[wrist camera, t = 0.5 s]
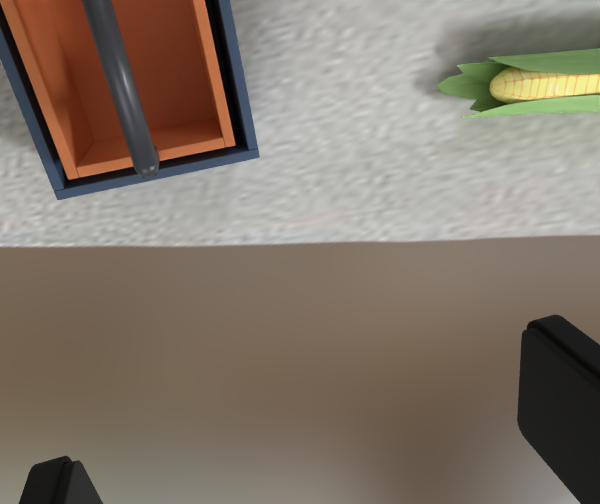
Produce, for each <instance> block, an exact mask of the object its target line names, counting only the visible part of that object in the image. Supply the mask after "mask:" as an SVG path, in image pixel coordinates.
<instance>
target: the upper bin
mask: <svg viewBox="0 0 600 504" xmlns="http://www.w3.org/2000/svg"><path fill="white" fill-rule="evenodd" d="M0 3H1V6H2V8H3V11H4V14H5V16H6V19H7V21H8V24H9V27H10V29H11V32H12V34H13V37H14V40H15V42H16V45H17V47H18V50H19V53H20V55H21V58H22V60H23V63H24V66H25V68H26V71H27V73H28V76H29V79H30V81H31V84H32V86H33V89H34V92H35V94H36V97H37V99H38V102H39V105H40V107H41V110H42V113H43V115H44V118H45V120H46V123H47V126H48V128H49V131H50V133H51V136H52V139H53V141H54V144H55V146H56V149H57V152H58V154H59V157H60V159H61V162H62V165H63V167H64V170H65V172H66V175H67V178H68V179H69V180H70V179H75V178H79V177H85V176H89V175H94V174H99V173H104V172H109V171H114V170H118V169H123V168H128V167H133V166H134V169H135V171H136V172H137V173H138V174H139V175H141V177H142V179H146V178H151V177H156V176H158V170H159V162H160V161H162V160H167V159H172V158H176V157H181V156H186V155H191V154H196V153H201V152H206V151H210V150H215V149H220V148H224V147H230V146H235V140H234V135H233V131H232V126H231V121H230V117H229V112H228V107H227V103H226V98H225V93H224V89H223V84H222V79H221V75H220V70H219V65H218V61H217V56H216V51H215V46H214V42H213V37H212V32H211V28H210V23H209V18H208V14H207V9H206V4H205V0H0Z"/></svg>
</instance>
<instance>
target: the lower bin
mask: <svg viewBox="0 0 600 504" xmlns="http://www.w3.org/2000/svg"><path fill="white" fill-rule="evenodd" d="M205 4H206V9H207V14H208V18H209V23H210V28H211V32H212V37H213V42H214V46H215V51H216V56H217V61H218V65H219V70H220V75H221V79H222V84H223V89H224V93H225V98H226V103H227V107H228V112H229V117H230V121H231V126H232V131H233V135H234V140H235V146H230V147H224V148H220V149H215V150H210V151H206V152H201V153H196V154H191V155H186V156H181V157H176V158H172V159H167V160H162V161H160V162H159V170H158V176H156V177H151V178H146V179H142V177H141V175H139V174H138V173H137V172H136V171H135V169H134V166H133V167H128V168H123V169H118V170H114V171H109V172H104V173H99V174H94V175H89V176H85V177H79V178H75V179H70V180H69V179H68V178H67V175H66V172H65V170H64V167H63V165H62V162H61V159H60V157H59V154H58V152H57V149H56V146H55V144H54V141H53V139H52V136H51V133H50V131H49V128H48V126H47V123H46V120H45V118H44V115H43V113H42V110H41V107H40V105H39V102H38V99H37V97H36V94H35V92H34V89H33V86H32V84H31V81H30V79H29V76H28V73H27V71H26V68H25V66H24V63H23V60H22V58H21V55H20V53H19V50H18V47H17V45H16V42H15V40H14V37H13V34H12V32H11V29H10V27H9V24H8V21H7V19H6V16H5V14H4V11H3V8H2V6H1V3H0V59H1V61H2V64H3V66H4V69H5V71H6V74H7V76H8V79H9V81H10V84H11V86H12V88H13V91H14V93H15V96H16V98H17V101H18V103H19V106H20V108H21V111H22V113H23V116H24V118H25V121H26V123H27V126H28V128H29V131H30V133H31V136H32V138H33V141H34V143H35V146H36V148H37V151H38V153H39V156H40V158H41V160H42V163H43V165H44V168H45V170H46V173H47V175H48V178H49V180H50V183H51V185H52V188H53V190H54V193H55V195H56V198H57V200H61V199H66V198H71V197H76V196H80V195H85V194H90V193H94V192H99V191H104V190H109V189H113V188H118V187H123V186H128V185H132V184H137V183H142V182H146V181H151V180H156V179H161V178H165V177H170V176H175V175H180V174H184V173H189V172H194V171H198V170H203V169H208V168H213V167H217V166H222V165H227V164H231V163H236V162H241V161H246V160H250V159H255V158H259V157H260V156H259V151H258V145H257V140H256V135H255V130H254V124H253V119H252V114H251V109H250V104H249V99H248V93H247V88H246V83H245V78H244V73H243V67H242V62H241V57H240V52H239V47H238V42H237V36H236V31H235V26H234V21H233V16H232V10H231V5H230V0H205Z"/></svg>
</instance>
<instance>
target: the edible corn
mask: <svg viewBox="0 0 600 504" xmlns="http://www.w3.org/2000/svg"><path fill="white" fill-rule="evenodd" d="M487 58H490V59H492V60H495V61H492V62H479V63H469V64H462V65H457V66H458V67H459V68H460V70H461V71H462V72H463V74H459V75H455V76H452V77H448V78H446V79H445V80H444V81H442V82H441V83H439V84H438V85H437V86H436V87H437V88H438V89H439V90H441V91H442V92H443V93H445V94H448V95H453V96H458V97H463V98H468V99H474V100H477V101H476V102H475V103H474V104H473V105H472V106H471V107H470V109H471V110H475V111H480V112H479V113H476V114H472V115H468V116H464V117H461V118H478V117H492V116H506V115H520V114H546V113H579V112H600V48H595V49H585V50H573V51H562V52H551V53H539V54H525V55H512V56H498V57H487Z"/></svg>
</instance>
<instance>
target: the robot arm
mask: <svg viewBox="0 0 600 504" xmlns="http://www.w3.org/2000/svg"><path fill="white" fill-rule="evenodd" d="M517 421H518V426H519V429H520V431H521V433H522V435H523V436H524V437H525V439H526V440H527V441H528V442H529V443H530V445H531V446H532V447H533V448H534V449H535V450H536V452H537V453H538V454H539V455H540V456H541V458H542V459H543V460H544V461H545V462H546V463H547V465H548V466H549V467H550V468H551V469H552V470H553V472H554V473H555V474H556V475H557V476H558V477H559V479H560V480H561V481H562V482H563V483H564V485H565V486H566V487H567V488H568V489H569V490H570V492H571V493H572V494H573V495H574V496H575V497H576V499H577V500H578V501H579V502H580V503H581V504H600V345H599V344H598V343H596V342H595V341H594V340H592V339H591V338H590V337H588V336H587V335H586V334H584V333H583V332H582V331H580V330H579V329H577V328H576V327H575V326H574V325H572V324H571V323H570V322H568V321H567V320H566V319H564V318H563V317H561V316H559V315H551V316H548V317H544V318H541V319H537V320H534V321H531V322H529V324H528V325H527V330H525V331H523V333H522V342H521V360H520V379H519V398H518V417H517ZM19 504H103V503H102V501H101V499H100V497H99V495H98V493H97V491H96V489H95V487H94V486H93V484H92V482H91V480H90V478H89V476H88V474H87V472H86V470H85V468H84V466H83V464H82V463H81V462H80V461H79V460H78V461H74V462H72V461H71V459H70V458H69V457H68V456H63V457H59V458H56V459H52V460H49V461H46V462H42V463H39V464H35V465H34V466H33V467H32V468H31V470H30V472H29V475H28V478H27V481H26V484H25V487H24V490H23V493H22V496H21V499H20V502H19Z"/></svg>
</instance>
